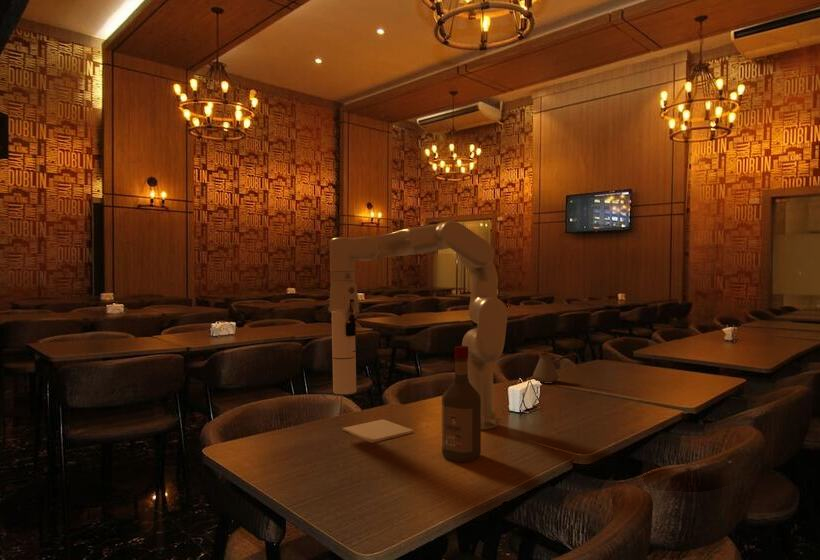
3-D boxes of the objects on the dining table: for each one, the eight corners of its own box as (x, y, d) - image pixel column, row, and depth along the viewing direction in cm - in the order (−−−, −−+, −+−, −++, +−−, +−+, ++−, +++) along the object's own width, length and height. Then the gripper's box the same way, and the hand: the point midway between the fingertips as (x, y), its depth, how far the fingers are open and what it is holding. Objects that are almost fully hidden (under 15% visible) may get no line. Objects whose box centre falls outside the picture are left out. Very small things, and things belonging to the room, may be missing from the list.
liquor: (469, 464, 140) (469, 350, 140) (438, 458, 145) (438, 347, 144) (483, 454, 148) (483, 346, 147) (454, 449, 153) (454, 343, 152)
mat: (413, 432, 168) (413, 430, 168) (371, 442, 158) (371, 440, 158) (382, 421, 180) (382, 419, 180) (342, 430, 170) (342, 428, 170)
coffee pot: (527, 382, 246) (528, 349, 245) (541, 378, 254) (541, 346, 254) (570, 389, 231) (571, 354, 231) (583, 385, 239) (583, 351, 239)
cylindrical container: (360, 389, 169) (358, 310, 168) (350, 394, 162) (348, 312, 162) (339, 388, 171) (338, 310, 171) (329, 393, 164) (327, 312, 164)
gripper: (368, 277, 162) (369, 336, 162) (337, 277, 175) (339, 331, 175) (347, 277, 157) (349, 338, 157) (317, 277, 170) (318, 333, 171)
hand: (343, 334), depth 166 cm, fingers closed on cylindrical container, 7 cm apart
